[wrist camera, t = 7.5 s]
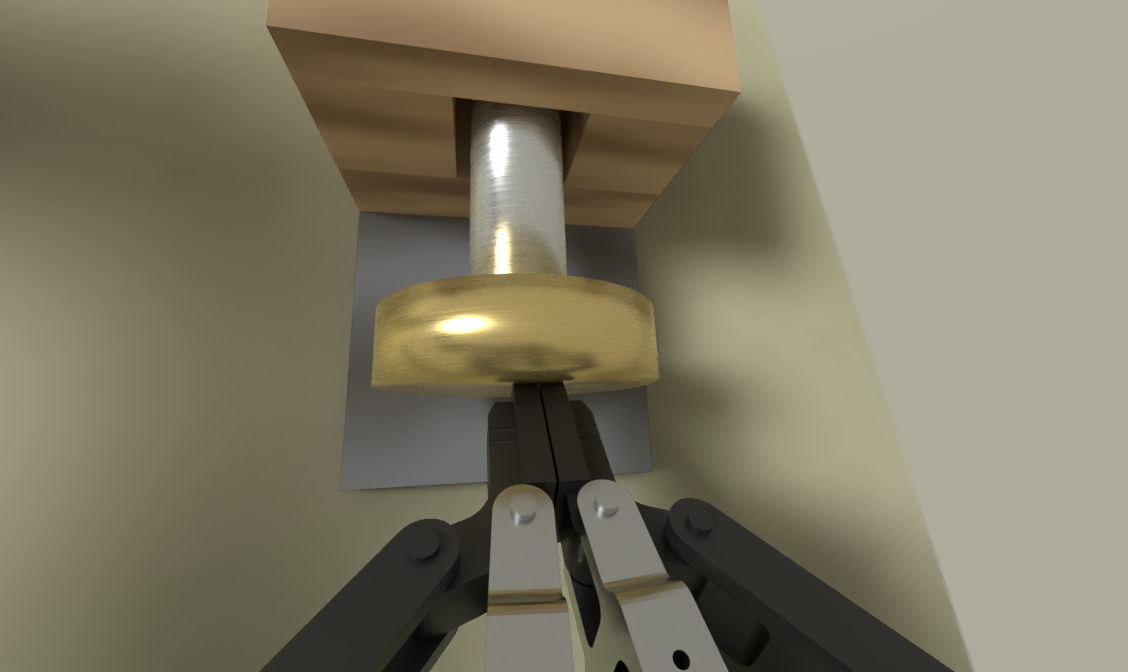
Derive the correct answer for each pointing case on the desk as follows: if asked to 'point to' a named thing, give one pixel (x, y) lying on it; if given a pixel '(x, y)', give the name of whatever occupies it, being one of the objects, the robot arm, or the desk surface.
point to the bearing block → (442, 170)
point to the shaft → (514, 287)
